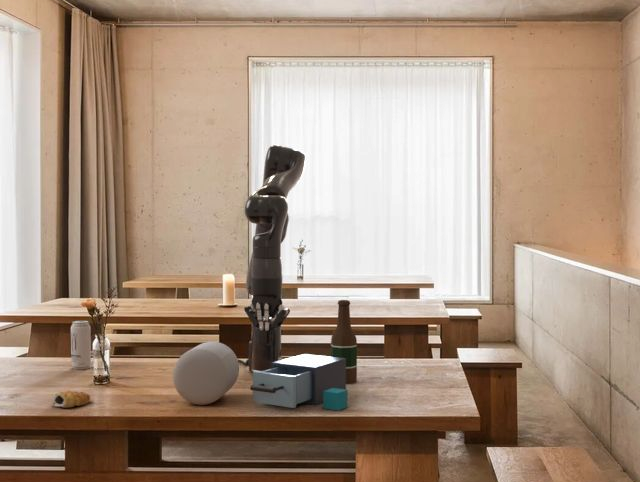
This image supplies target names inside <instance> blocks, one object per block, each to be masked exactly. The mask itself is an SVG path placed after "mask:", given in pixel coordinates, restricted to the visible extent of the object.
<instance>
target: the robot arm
mask: <svg viewBox="0 0 640 482" xmlns="http://www.w3.org/2000/svg"><path fill="white" fill-rule="evenodd" d="M306 162H307V161H306V154H305V153H304V151H302V150H300V149H297V148H292V147H287V146H283V145H278V144H272V145H270V146H269V147H268V149H267V151H266V154H265V160H264V165H263V176H262V177H263V178H262V185H261V188H259V189H257V190H256V191H254V192H253V193H251V194H250V195H249V196H248V198H247V200H246V201H245V204H244V215H245V218H246V219H247V221H248V222H250V223H252V224H255V231H254V235H253V236H252V241H251V242H252V243H251V245H252V246H251V247H252V249H251V251H252V252H251V255H250V260H249V264H248V266H247V267H248V268H247V272H246V277H245V289H246V291H247V293H248V294H249V295H250V296H252V297H251V298H252V299H251V303H250V304H249V305H248V306H244V308H243V311H245V314H246V316H247V317H248V319H249V320H250V322H251V340H249V342H248V357H247V359H246V360H245V361H244V360H242V359H238V358H237V360H238V363H239V364H242V365H245V366H248V372H249V373H253V372H254V371H259V372H261V371H265V370H269V369H272V362H275V361H279V360H283V357H282V325H283V323H284V322H285V320H286V319H287V318H288V316H289V314H290V313H291V310H290V308H286V307H285V306H284V305H283V299H282V296H283V295H282V294H283V266H282V258H281V257H282V243H283V242H284V241H285V238H286V236H287V232H288V226H289V221H290V217H289V213H288V212H289V204H288V202H287V198H288V195H289V193H290V192H291V191H292V189H293V188H295V187H296V186H297V184H298V183H299V182H300V180H301V179H302V177H303V174H304V172H305V167H306Z"/></svg>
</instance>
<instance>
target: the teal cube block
mask: <svg viewBox="0 0 640 482" xmlns="http://www.w3.org/2000/svg"><path fill="white" fill-rule="evenodd" d="M322 403H323V405H322V406H323V409H325V410H330V411H331V410H332V411H341V410H344V409H346V408H348V389H346V390H345V389H337V388H331V389H328V390H325V391H323V402H322Z"/></svg>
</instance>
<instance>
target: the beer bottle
mask: <svg viewBox="0 0 640 482" xmlns="http://www.w3.org/2000/svg"><path fill="white" fill-rule="evenodd" d="M337 305H338V310H337V324H336V328H335V329H334V331H333V332H332V335H331V338H330V339H331V340H330V357H338V358H346V385H348V384H353V383H356V382H357V380H358V379H357V377H358V340H357V336H356V334H355V331H354V329H352V324H351V312H350V305H351V301H350V300H348V299H340V300H338V301H337Z"/></svg>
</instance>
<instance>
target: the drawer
mask: <svg viewBox="0 0 640 482" xmlns="http://www.w3.org/2000/svg"><path fill="white" fill-rule="evenodd" d="M249 389H250V391H252V403H256V404H263V405H269V406H277V407H283V408H291V409H294V408H297V405H298V404H302V403H301V402H304V401H307V400H310V399H313V371H312V370H304V369H295V368H287V367H276V368H272V369H269V370H265V371H261V372H259V371H254V372H252V384H251V385H250V386H249Z"/></svg>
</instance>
